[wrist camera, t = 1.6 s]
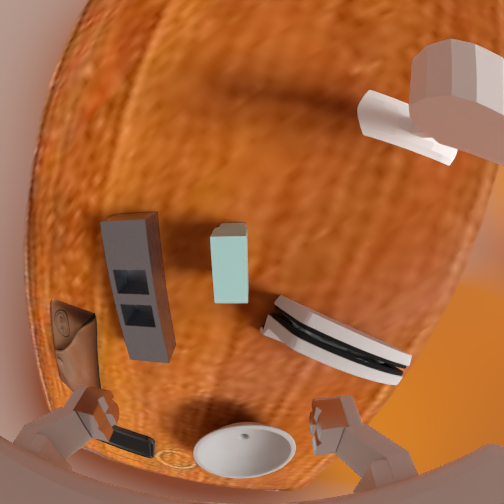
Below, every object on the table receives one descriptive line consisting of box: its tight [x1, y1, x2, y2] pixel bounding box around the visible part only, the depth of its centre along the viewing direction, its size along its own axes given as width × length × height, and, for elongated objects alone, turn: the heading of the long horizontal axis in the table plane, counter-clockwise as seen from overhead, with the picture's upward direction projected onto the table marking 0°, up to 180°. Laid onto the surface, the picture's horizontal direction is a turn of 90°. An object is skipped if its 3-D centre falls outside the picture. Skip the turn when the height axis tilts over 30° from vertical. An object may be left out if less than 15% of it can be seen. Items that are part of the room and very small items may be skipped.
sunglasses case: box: [51, 298, 101, 392], centre depth 33 cm, size 18×7×7 cm, turn 165°
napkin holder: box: [260, 295, 412, 385], centre depth 28 cm, size 17×5×10 cm, turn 62°
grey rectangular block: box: [100, 212, 176, 363], centre depth 28 cm, size 16×5×4 cm, turn 1°
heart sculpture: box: [357, 39, 504, 166], centre depth 16 cm, size 16×5×18 cm, turn 81°
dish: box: [193, 422, 296, 478], centre depth 36 cm, size 18×14×5 cm
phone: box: [97, 425, 155, 458], centre depth 40 cm, size 8×1×15 cm
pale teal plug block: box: [210, 223, 248, 303], centre depth 26 cm, size 6×3×6 cm, turn 1°
